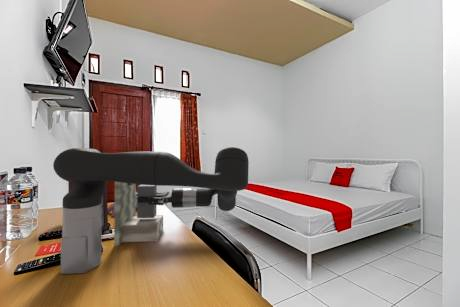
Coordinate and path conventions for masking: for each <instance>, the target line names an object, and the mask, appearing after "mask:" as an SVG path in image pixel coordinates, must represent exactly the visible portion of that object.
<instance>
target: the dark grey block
mask: <svg viewBox="0 0 460 307" xmlns="http://www.w3.org/2000/svg"><path fill="white" fill-rule="evenodd" d="M157 187H158V185H142V184H138V185H136V193H137V198H138V197H147V196H154V195H156V194H157ZM152 201H154V199H152ZM136 211H137V213H136V214H137V215H136V216H137V218H154V217H155V216H156V215H157V205H149V204H148V203H138V202H137V209H136Z"/></svg>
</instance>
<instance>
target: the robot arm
mask: <svg viewBox="0 0 460 307" xmlns="http://www.w3.org/2000/svg"><path fill="white" fill-rule="evenodd" d="M214 162H215V163H214V164H215V165H214V173H206V172H203V171H199V170H197V169H195V168H194V167H191V166H190V165H189V164H188V163H185V162H184V161H183V160H182V159H180V158H179V157H177V156H176V155H174V154H173V153H170V152H167V151H148V150H146V151H144V150H143V151H126V152H125V151H124V152H113V153H109V152H101V151H100V150H98V149H95V148H89V147H87V148H86V147H85V148H84V147H81V148H79V147H77V148H76V147H74V148H69V149H65V150H64V151H62V152H60V153H59V154H57V156H56V158H54V161H53V164H52V165H53V170H54V172H55V174H56V175H57V176H58V177H59V178H61V179H62V180H63V181H67V182H68V181H69V182H74V185H73V187H72V189H71V190H70V192H68V193H67V192H66V194H65V195H64V196H63V198H62V230H61V231H62V233H61V234H62V235H61V239H60V275H70V274H85V273H87V272H88V271H90V270H92V269H95V268H97V267H98V266H99V265H100V264H101V263H102V232H101V213H102V196H103V194H104V191H105V181H107V182H114V183H115V182H122V183H132V184H136V185H157V186H159V187H160V186H162V187H163V186H165V187H167V186H170V187H174V188H172V190H171V193H170V191H162V192H161V191H160V192H159V191H158V192H157V194H156V195H154V196H147V197H138V198H137V202H138V203H148V204H149V205H156V206H164V205H168V204H169V203H171V208H173V209H175V208H176V209H178V208H181V209H182V208H195V207H197V208H199V207H201V208H202V207H205V208H206V207H210V206H211V204H212V200H213V197H214V196H216V195H217V208H218V209H219V210H221V211H222V212H229V211H233V209H234V208H235V207H236V205H237V202H236V201H237V195H238V191H239V192H240V191H243V190H245V189H247V188H248V186H249V156H248V154H247V152H246V151H245V150H243V149H242V148H239V147H233V146H230V147H223V148H222V149H221V150H219V151H218V152H217V154H216V157H215V161H214ZM180 187H181V188H180ZM152 199H154V201H152Z"/></svg>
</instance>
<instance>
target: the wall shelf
mask: <svg viewBox="0 0 460 307" xmlns="http://www.w3.org/2000/svg"><path fill="white" fill-rule="evenodd" d="M136 193H137V184H132V183H122V182H115V181H114V203H115V217H114V223H113V224H114V235H113V238H114V239H113V240H114V241H113V242H114V243H113V244H114V245H113V246H114V247H115V246H116V247H117V246H120V245H121V244H122V243H136V242H137V243H139V242H158V239H159V237H160V235H161V234H162V232H163V231H164V215H163V214H158V215H157V214H156V216H155V217H154V218H137V215H136V214H137V213H136V211H137V209H136Z"/></svg>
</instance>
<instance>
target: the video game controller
mask: <svg viewBox="0 0 460 307" xmlns="http://www.w3.org/2000/svg"><path fill="white" fill-rule="evenodd" d="M110 213H111V214H110ZM108 214H110V216H111V218H115V202H112V203H111V204H110V205H109V206H108Z"/></svg>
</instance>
